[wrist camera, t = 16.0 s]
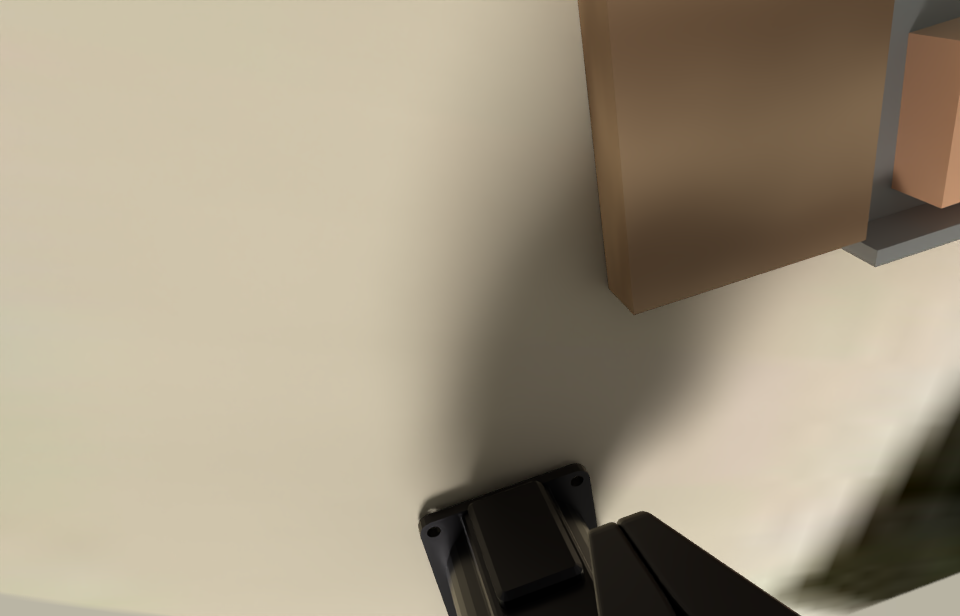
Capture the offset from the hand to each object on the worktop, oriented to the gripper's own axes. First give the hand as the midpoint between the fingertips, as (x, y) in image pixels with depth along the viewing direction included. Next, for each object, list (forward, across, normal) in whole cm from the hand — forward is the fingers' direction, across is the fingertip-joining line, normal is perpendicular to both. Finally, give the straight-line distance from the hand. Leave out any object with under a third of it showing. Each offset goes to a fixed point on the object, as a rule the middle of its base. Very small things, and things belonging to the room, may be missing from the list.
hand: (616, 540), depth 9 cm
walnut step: (+12, -9, -3) cm, 15 cm away
